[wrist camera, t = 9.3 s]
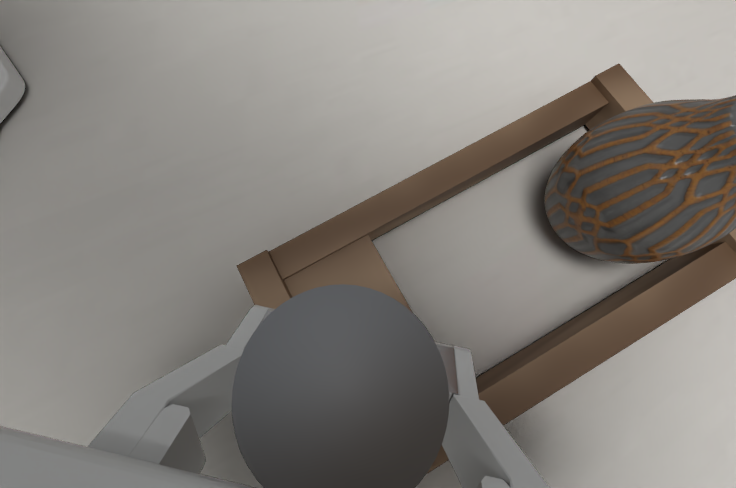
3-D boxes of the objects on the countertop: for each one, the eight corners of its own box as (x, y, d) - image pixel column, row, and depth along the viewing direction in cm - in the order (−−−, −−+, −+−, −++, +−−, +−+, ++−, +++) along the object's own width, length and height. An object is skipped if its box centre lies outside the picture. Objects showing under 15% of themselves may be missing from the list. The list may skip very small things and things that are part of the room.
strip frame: (254, 272, 18) (29, 191, 6) (589, 93, 20) (893, -218, 8) (358, 491, 15) (311, 1052, 4) (728, 260, 17) (1440, 152, 6)
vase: (521, 156, 19) (640, 28, 10) (637, 160, 19) (855, 32, 10) (528, 269, 18) (676, 226, 9) (655, 274, 17) (928, 235, 9)
